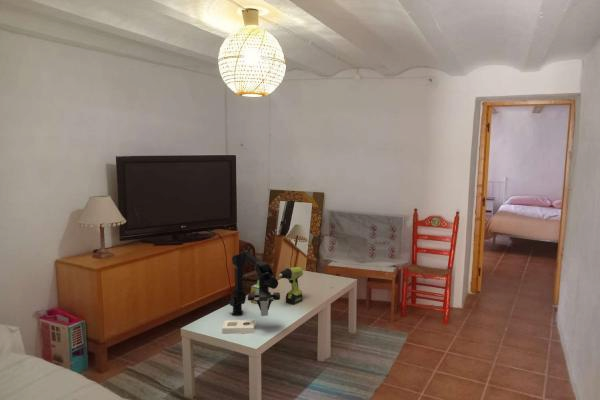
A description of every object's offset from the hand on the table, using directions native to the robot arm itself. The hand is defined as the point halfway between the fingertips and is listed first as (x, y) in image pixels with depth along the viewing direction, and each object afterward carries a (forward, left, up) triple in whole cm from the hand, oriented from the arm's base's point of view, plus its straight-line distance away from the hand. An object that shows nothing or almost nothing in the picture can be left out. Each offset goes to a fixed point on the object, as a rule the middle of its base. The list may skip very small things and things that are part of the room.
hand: (264, 310), depth 260 cm
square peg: (0, 0, -3) cm, 3 cm away
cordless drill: (-38, +15, -10) cm, 42 cm away
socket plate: (+2, -15, -10) cm, 18 cm away
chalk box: (-43, -6, -11) cm, 45 cm away
